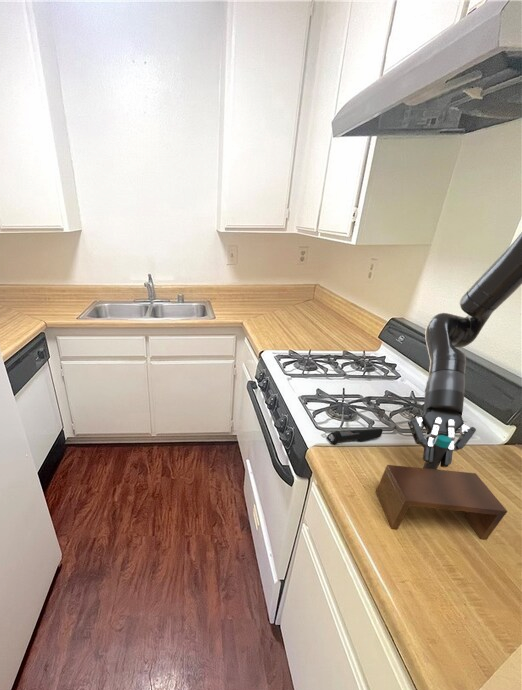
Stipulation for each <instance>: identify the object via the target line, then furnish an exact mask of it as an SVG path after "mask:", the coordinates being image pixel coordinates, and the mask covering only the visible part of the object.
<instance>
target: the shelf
mask: <svg viewBox="0 0 522 690" xmlns="http://www.w3.org/2000/svg"><path fill="white" fill-rule="evenodd" d="M375 494H376V496H377V498H378V501H379V503H380V505H381V507H382V510H383V512H384V514H385V517H386V519H387V522H388V524H389V526H390V527H391V528H390V529H391V530H399V528H400V526H401V524H402V522H403V520H404V518H405V516H406V515H407V512H408V510H409V508H410V507H411V506H412V507H419V508H420V507H421V508H428V509H429V508H430V509H438V510H449V511H455V512H456V511H457V512H461V514H462V515H463V516H464V517H465V519H466V521H467V522H468V523H469V525H470V526H471V527H472V529H473V531H474V532H475V534H476V535H477V537H478V538H479V539H480V540H484V541H487V540H488V539H489V538H490V536H491V535H492V533H493V532H494V531H495V529H496V528H497V526H498V525H499V524H500V522H501V521H502V519H504V517H505V515H507V514H508V510H507V508H506V507H505V506H504V505H503V504H502V502H500V501H499V499H498V498H497V496H495V494H494V493H493V492H492V491H491V489H490V488H489V487H488V486H487V485H486V484H485V482H484V481H483V480H482V479H481V478H480V477H479V475H478V474H477V473H476V472H466V471H458V470H457V471H455V470H448V469H447V470H445V469H437V470H436V469H426V468H423V467H415V466H404V465H394V464H386V467H385V469H384V471H383V474H382V476H381V478H380V480H379V483H378V485H377V488H376V490H375Z"/></svg>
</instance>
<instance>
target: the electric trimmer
mask: <svg viewBox="0 0 522 690" xmlns="http://www.w3.org/2000/svg"><path fill="white" fill-rule="evenodd" d="M382 435H383V428H369V429H353V430H352V429H351V430H335V431H332V432H330V433H329V434H328V435H326V441H327V442H328V443H329V444H330V443H331V444H330V445H337V444H338V443H342V442H351V441H358V442H364V441H369V440H374V439H378V438H381V437H382Z"/></svg>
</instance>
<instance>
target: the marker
mask: <svg viewBox="0 0 522 690" xmlns="http://www.w3.org/2000/svg"><path fill="white" fill-rule="evenodd" d="M451 441H452V439H451V438H450V437H448V436H445V435H437V437H436V439H435V442H434V445H433V448H434V454H433V462H432V464H429V465H428V464H425V463H424V465H423V467H422V468H426V469H436V470H438V468H439V467H440V465H441V460H442V458H443V456H444V454H445V452H446V450H447V449H448V447H449V445H450V443H451Z"/></svg>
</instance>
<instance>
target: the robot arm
mask: <svg viewBox="0 0 522 690" xmlns="http://www.w3.org/2000/svg"><path fill="white" fill-rule="evenodd" d="M520 286H522V232H521V233H520V234H518V236H517V237H516V239H515V240H514V241H513V242H512V243H511V244H510V245H509V246H508V247H507V248H506V250H505V251H504V252H503V253H502V254H501V255H500V256H499V257H498V258H497V259H496V260H495V261H494V262H493V263H492V264H491V265H490V266H489V268H488V269H486V271H484V273H483V274H481V276H480V277H479V278H478V279H477V280H476V281H475V282H474V283H473V284H472V285H471V287H470V288H468V290H467V291H466V292H465V293H464V294H463V295H462V296H461V298H460V300H459V307H460V309H461V310H462V311H463V312H464V313H465V314H467V315H466V316H465V317H464V316H460V315H455V314H452V313H447V312H440V313H437V314H436V315H434V316H432V318H431V319H430V320H429V321H428V322H427V325H426V327H425V332H424V338H425V343H426V349H427V353H428V356H429V371H428V377H427V380H426V385H425V389H424V399H423V408H422V409H423V410H422V414H421V415H420V417H417V418H416V417H413V418H411V419H409V420H408V421H407V425H408V427H409V430H410V433H411V435H412V437H413V440H414V443H415V444H416V445H420V446H421V447H423V451H422V452H423V454H422V461H423V462H424V464H428V465H429V464H432V462H433V454H434V448H433V446H434V444H435V441H436V439H437V437H438V436H439V435H445V436H448V437H450V438H451V439H452V441H451V443H450V445H449V447H448V449H447V450H446V452H445V454H444V456H443V458H442V460H441V462H440V464H439V467H440V468H448V467H449V466H450V465H451V464H452V461H453V453H454V452H456V451H459V450H462V449H464V448H465V446H466V445H467V443H468V442H469V441H470V440H471V439H472V437H473V435H474V434H475V433H476V431H477V428H476V427H474V426H471V427H470V426H469V425H467V424H465V421H464V420H463V413H464V412H463V411H464V402H465V401H464V400H465V390H466V380H465V379H466V368H467V356H466V354H465V353H464V352H463V351H462V350H460V349H462V348H464V347H467V346H469V345H471V344H472V343H473V342H474V341H475V340H476V339H477V338H478V336H479V335H480V333H481V331H482V329H483V328H484V327H485V324H486V323H487V322H488V320H489V319H490V317H491V316H492V314H493V313H494V312H495V311H497V309H498V308H499V307H500V306H501V305H502V304H503V303H504V302H506V300H508V298H510V297H511V296H512V295H513V294H514V293H515V292H516V291H517V290H518V289H519V288H520ZM422 425H423V428H424V429H425V430H426V432H425V435H424V433H423V430H422ZM457 431H459V434H460V436H459V437H458V438H457V440H456V442H455V439H456V432H457Z"/></svg>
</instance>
